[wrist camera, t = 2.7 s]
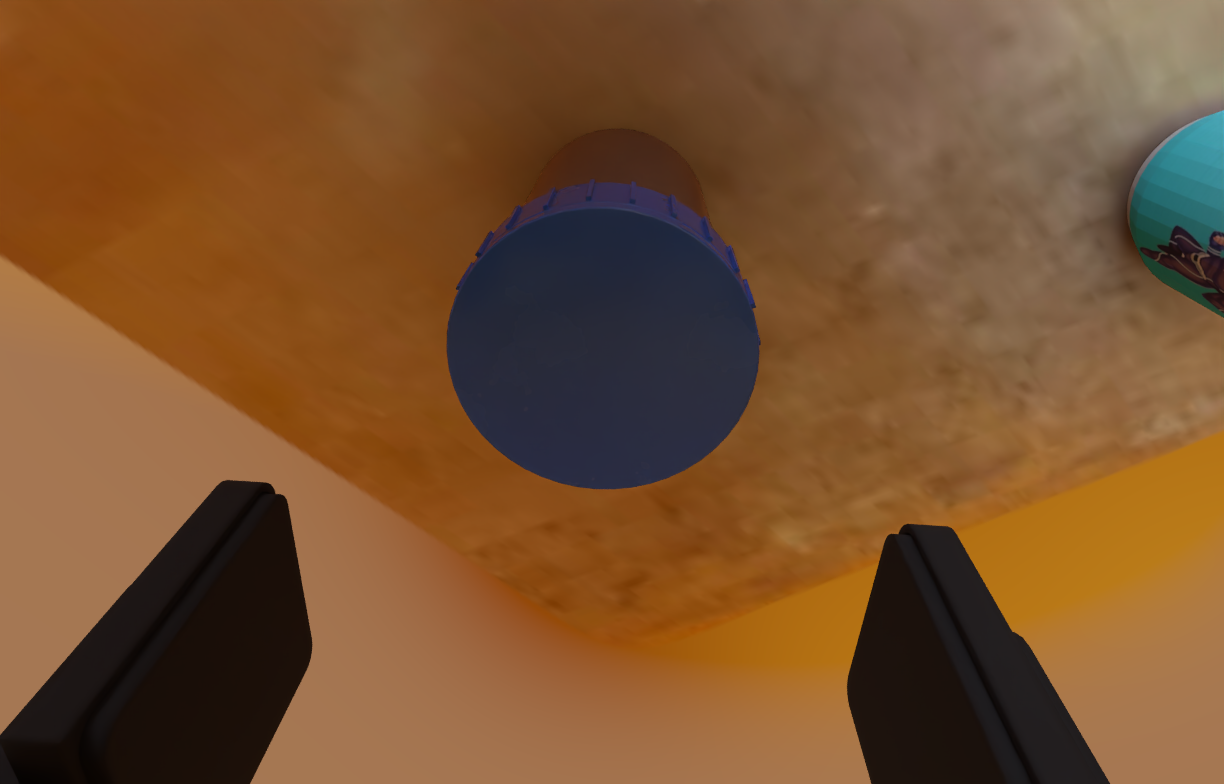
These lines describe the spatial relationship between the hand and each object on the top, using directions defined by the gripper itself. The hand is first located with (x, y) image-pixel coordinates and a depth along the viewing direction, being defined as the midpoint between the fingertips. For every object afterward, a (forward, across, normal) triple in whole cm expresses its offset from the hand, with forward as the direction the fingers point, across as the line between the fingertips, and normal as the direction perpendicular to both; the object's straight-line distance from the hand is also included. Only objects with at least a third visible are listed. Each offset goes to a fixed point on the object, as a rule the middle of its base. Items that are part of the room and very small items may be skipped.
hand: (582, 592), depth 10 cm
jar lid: (+7, 0, 0) cm, 7 cm away
